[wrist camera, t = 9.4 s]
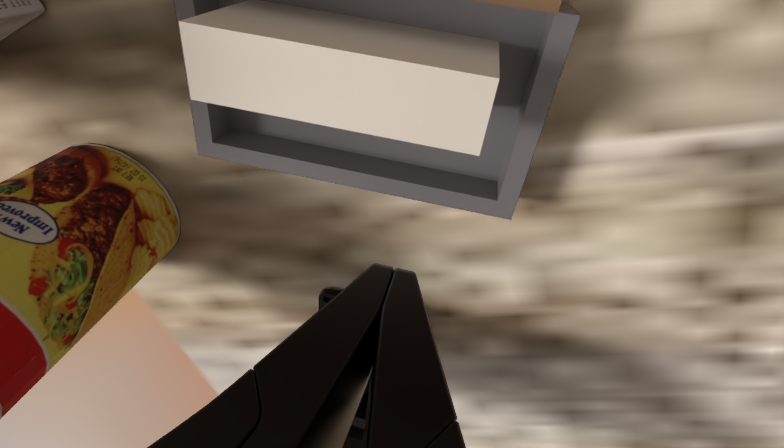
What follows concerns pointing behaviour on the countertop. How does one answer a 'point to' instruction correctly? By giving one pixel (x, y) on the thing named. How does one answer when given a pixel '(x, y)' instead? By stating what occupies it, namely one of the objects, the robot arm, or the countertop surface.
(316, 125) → the box
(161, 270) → the countertop surface
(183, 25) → the cream tile
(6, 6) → the coffee box
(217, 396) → the robot arm
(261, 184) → the countertop surface
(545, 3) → the plate
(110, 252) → the canned food
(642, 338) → the countertop surface
